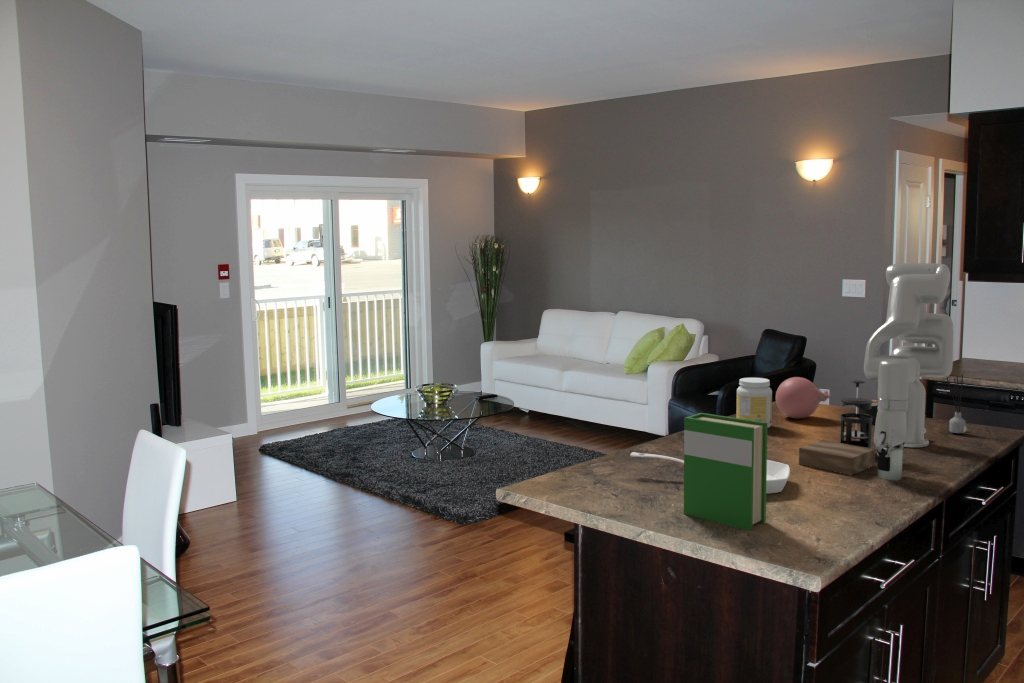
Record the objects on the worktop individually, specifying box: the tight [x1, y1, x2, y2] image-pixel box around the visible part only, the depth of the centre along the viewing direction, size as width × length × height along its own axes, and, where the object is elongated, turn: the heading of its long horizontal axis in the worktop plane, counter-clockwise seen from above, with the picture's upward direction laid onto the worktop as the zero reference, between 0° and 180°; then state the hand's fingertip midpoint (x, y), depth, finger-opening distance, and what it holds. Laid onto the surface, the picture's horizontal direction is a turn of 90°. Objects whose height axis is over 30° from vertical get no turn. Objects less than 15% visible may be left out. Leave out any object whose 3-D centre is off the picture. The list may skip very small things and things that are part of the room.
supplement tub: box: [735, 377, 773, 429], centre depth 287 cm, size 12×12×17 cm
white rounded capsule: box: [877, 447, 904, 481], centre depth 223 cm, size 6×6×8 cm
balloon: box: [775, 376, 832, 420], centre depth 297 cm, size 15×20×15 cm
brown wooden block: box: [798, 439, 876, 476], centre depth 236 cm, size 14×16×5 cm
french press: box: [839, 379, 873, 449], centre depth 247 cm, size 12×9×23 cm
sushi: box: [858, 399, 878, 424], centre depth 290 cm, size 8×8×8 cm
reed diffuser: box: [945, 374, 968, 434], centre depth 271 cm, size 10×7×20 cm
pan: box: [630, 451, 791, 495], centre depth 224 cm, size 28×43×7 cm, turn 70°
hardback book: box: [683, 412, 768, 532], centre depth 192 cm, size 18×7×24 cm, turn 46°
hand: (890, 467), depth 223 cm, fingers open, 7 cm apart
